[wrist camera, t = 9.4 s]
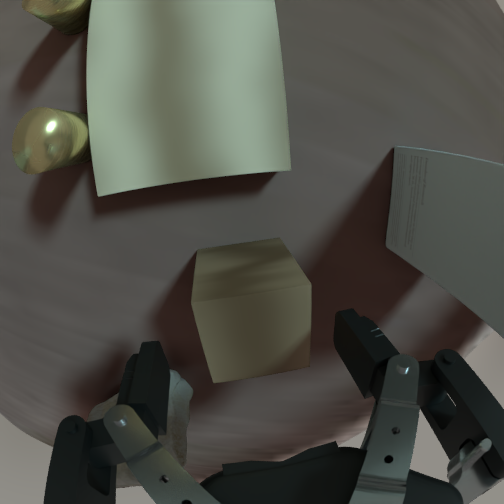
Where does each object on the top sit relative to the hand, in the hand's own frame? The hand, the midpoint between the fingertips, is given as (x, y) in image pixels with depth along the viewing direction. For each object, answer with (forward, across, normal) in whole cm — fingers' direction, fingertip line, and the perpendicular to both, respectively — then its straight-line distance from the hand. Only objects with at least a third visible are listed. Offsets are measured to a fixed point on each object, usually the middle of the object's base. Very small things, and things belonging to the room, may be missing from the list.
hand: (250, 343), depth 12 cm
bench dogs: (+6, +8, -15) cm, 18 cm away
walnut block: (+6, 0, 0) cm, 6 cm away
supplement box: (+6, -14, -4) cm, 16 cm away
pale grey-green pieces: (+7, +2, -15) cm, 16 cm away
